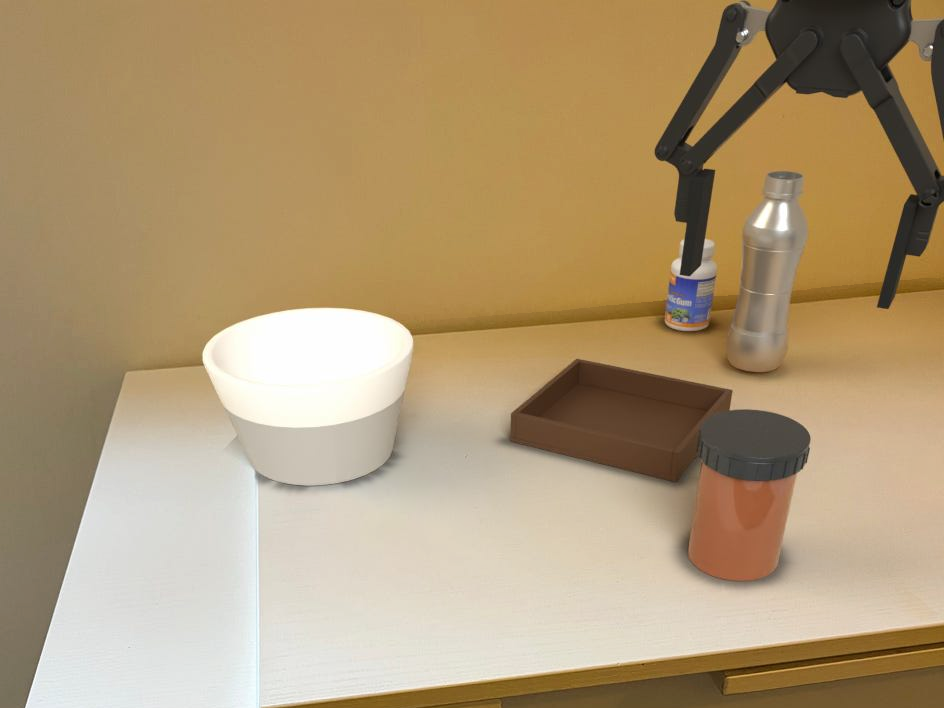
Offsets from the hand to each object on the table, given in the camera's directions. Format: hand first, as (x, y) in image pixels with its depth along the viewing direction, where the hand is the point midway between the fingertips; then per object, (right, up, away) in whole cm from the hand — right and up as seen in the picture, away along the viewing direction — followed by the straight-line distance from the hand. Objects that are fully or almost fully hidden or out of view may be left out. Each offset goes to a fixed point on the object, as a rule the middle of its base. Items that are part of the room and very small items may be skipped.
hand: (784, 286), depth 69 cm
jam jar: (0, -18, +12) cm, 22 cm away
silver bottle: (+10, +6, +42) cm, 43 cm away
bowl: (-36, -6, +28) cm, 46 cm away
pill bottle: (+5, +14, +52) cm, 54 cm away
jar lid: (-1, -9, +5) cm, 11 cm away
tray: (-7, -4, +30) cm, 31 cm away
